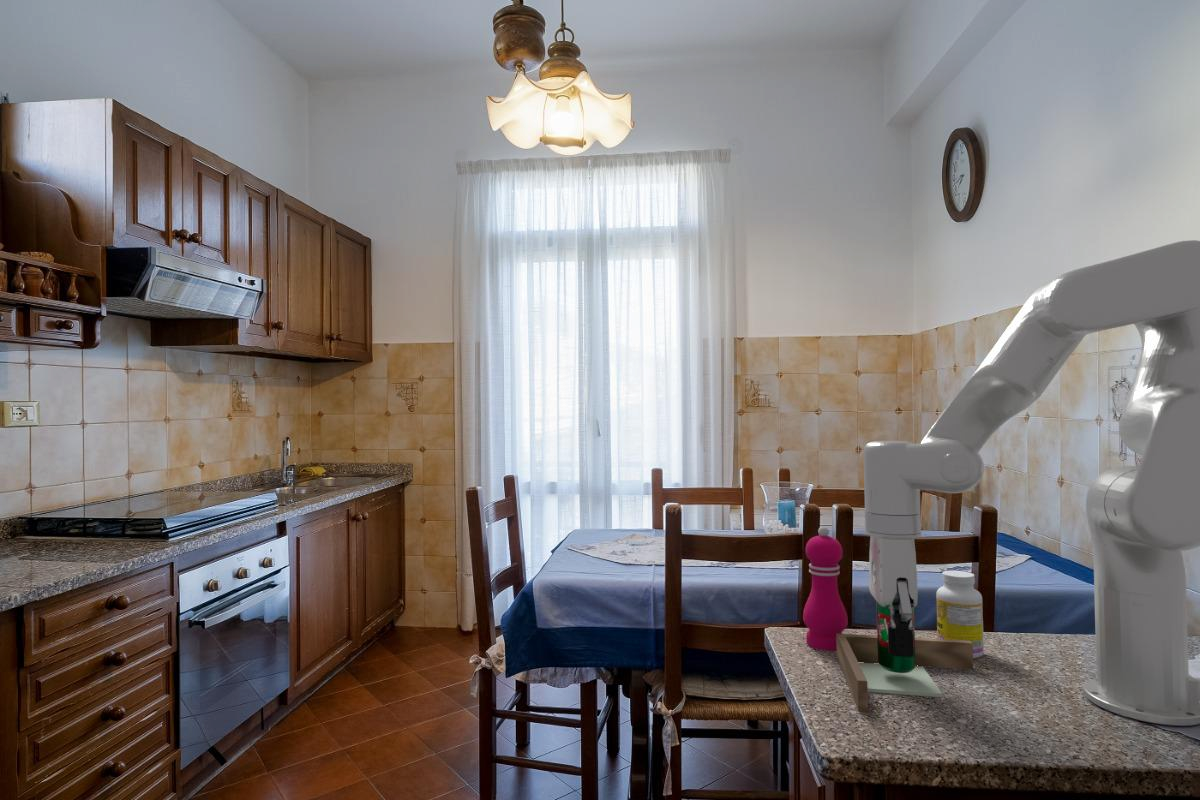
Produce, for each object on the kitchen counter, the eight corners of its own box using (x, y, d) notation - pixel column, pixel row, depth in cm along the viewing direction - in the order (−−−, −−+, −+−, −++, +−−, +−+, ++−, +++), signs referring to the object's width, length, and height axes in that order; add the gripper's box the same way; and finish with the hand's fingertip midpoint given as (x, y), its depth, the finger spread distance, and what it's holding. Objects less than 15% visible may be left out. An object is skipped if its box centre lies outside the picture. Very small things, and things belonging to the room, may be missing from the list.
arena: (970, 666, 101) (969, 640, 101) (1023, 723, 82) (1022, 691, 83) (836, 658, 105) (836, 633, 105) (858, 711, 86) (857, 680, 87)
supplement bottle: (941, 642, 112) (939, 567, 112) (986, 650, 108) (984, 572, 108) (934, 654, 107) (932, 574, 107) (981, 663, 103) (979, 580, 103)
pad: (922, 669, 100) (922, 666, 100) (942, 697, 90) (942, 693, 90) (853, 665, 102) (853, 662, 102) (865, 691, 92) (865, 688, 93)
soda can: (910, 662, 98) (908, 581, 99) (920, 675, 93) (917, 590, 94) (874, 660, 99) (872, 580, 100) (882, 673, 94) (879, 589, 95)
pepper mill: (796, 638, 115) (794, 523, 115) (836, 636, 116) (833, 522, 116) (814, 653, 108) (812, 530, 108) (856, 651, 108) (853, 529, 109)
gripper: (855, 515, 106) (858, 629, 106) (877, 534, 89) (881, 669, 89) (905, 516, 105) (908, 631, 104) (937, 535, 88) (941, 672, 87)
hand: (896, 647), depth 96 cm, fingers closed on soda can, 5 cm apart
